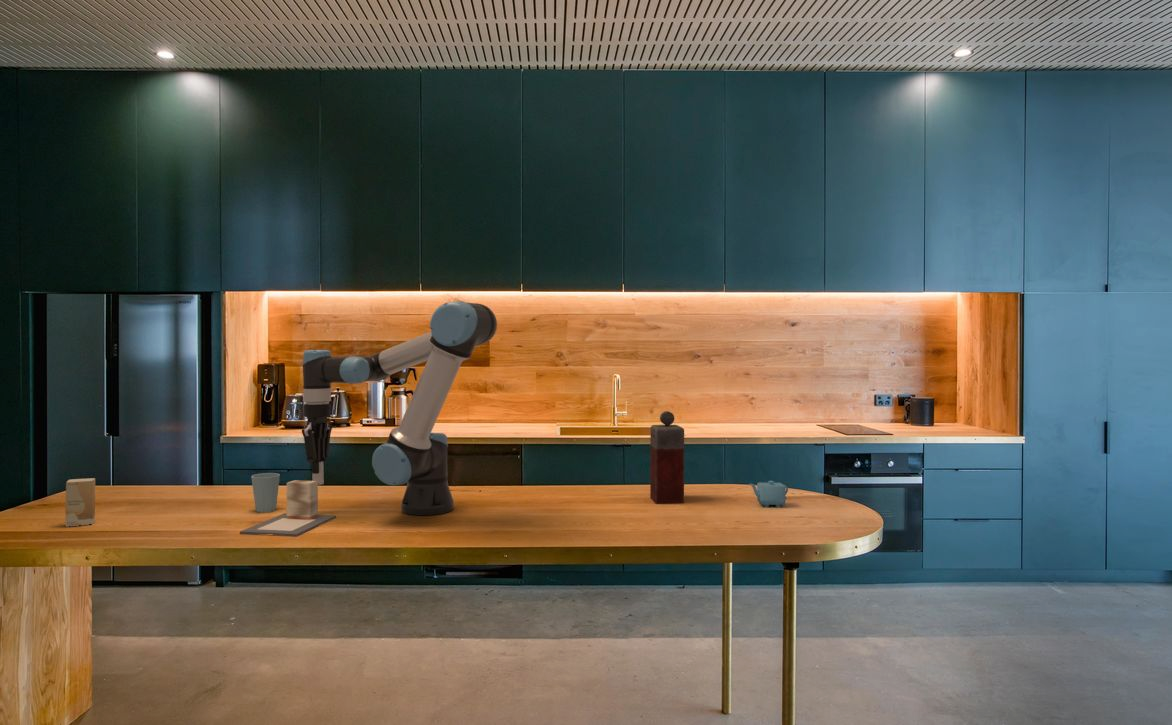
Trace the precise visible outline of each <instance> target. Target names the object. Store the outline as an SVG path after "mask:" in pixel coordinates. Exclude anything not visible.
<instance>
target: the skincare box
mask: <svg viewBox="0 0 1172 725" xmlns="http://www.w3.org/2000/svg"><path fill="white" fill-rule="evenodd" d="M95 522H96V478H95V477H93V478H74V479H73V478H72V479H68V480H67V481H66V483H65V527H67V528H69V526H70V527H79V525H81V526H90V525H89V524H92V525H93V524H94V523H95Z"/></svg>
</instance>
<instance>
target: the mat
mask: <svg viewBox="0 0 1172 725" xmlns="http://www.w3.org/2000/svg"><path fill="white" fill-rule="evenodd" d="M334 519H337V515H333V514H329V515H328V514H318V517H316V518H313V519H311V520H304V519H287V512H285V513H282V514H279V515H277V516H275V517H272V518H269V519H267V520H265V521H262V522H260V523H259V522H258V524H254V525H253V526H249V527H248V528H245V529H242V530H240V531H239V534H240V535H256V534H273V535H272V536H278V535H284V536H285V537H299V536H301V535H304V533H307V532H309V531H311V530H313V529H316V528H318V527H319V525H320V526H322V525H323V524H327V523H328V522H331V521H332V520H334ZM321 524H322V525H321ZM317 526H318V527H317ZM315 527H316V528H315ZM284 536H283V537H284Z"/></svg>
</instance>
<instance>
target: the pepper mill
mask: <svg viewBox="0 0 1172 725" xmlns="http://www.w3.org/2000/svg"><path fill="white" fill-rule="evenodd" d="M659 420H660V422H661V423H662V424H652V425H650V434H649V435H650V441H649V442H650V444H649V445H650V446H649V447H650V448H649V449H650V451H649V452H650V462H649V463H650V466H649V467H650V470H649V471H650V473H649V474H650V475H649V476H650V481H649V482H650V489H649V492H650V494H649V495H650V500H651V501H652V502H653V503H654V504H656V505H669V504H671V505H672V504H675V505H676V504H685V429H684V427H682V426H680V425H678V424H673V423H674V421H675V415H674V414H673V412H672V411H669V410H664V411H663V412H661V413H660V416H659Z"/></svg>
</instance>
